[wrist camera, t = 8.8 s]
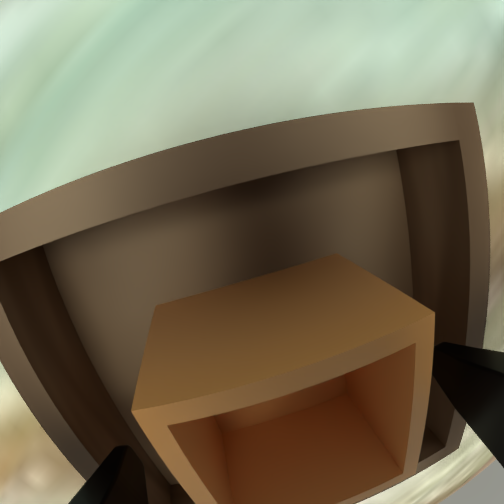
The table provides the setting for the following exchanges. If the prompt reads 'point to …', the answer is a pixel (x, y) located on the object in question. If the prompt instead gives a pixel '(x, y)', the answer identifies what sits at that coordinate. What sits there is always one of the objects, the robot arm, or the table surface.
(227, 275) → the walnut crate
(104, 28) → the table surface
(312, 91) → the table surface
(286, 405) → the small crate
